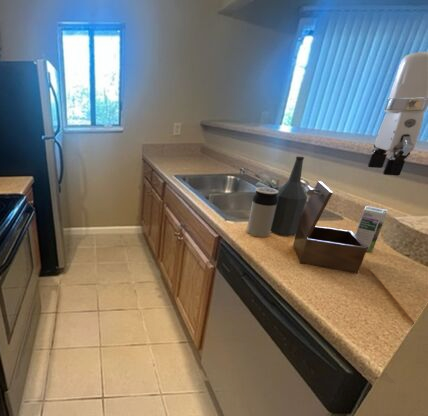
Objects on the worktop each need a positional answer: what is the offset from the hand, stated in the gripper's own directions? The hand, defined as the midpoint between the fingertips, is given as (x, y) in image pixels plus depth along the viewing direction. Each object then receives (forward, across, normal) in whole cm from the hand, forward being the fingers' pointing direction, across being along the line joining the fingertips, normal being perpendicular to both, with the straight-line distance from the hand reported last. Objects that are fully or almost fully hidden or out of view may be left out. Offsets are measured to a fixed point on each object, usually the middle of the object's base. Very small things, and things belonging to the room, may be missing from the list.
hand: (382, 170), depth 77 cm
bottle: (+31, +19, +16) cm, 39 cm away
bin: (+30, 0, +7) cm, 31 cm away
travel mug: (+30, +13, +25) cm, 41 cm away
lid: (+13, 0, +13) cm, 18 cm away
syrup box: (+31, +15, -8) cm, 35 cm away
